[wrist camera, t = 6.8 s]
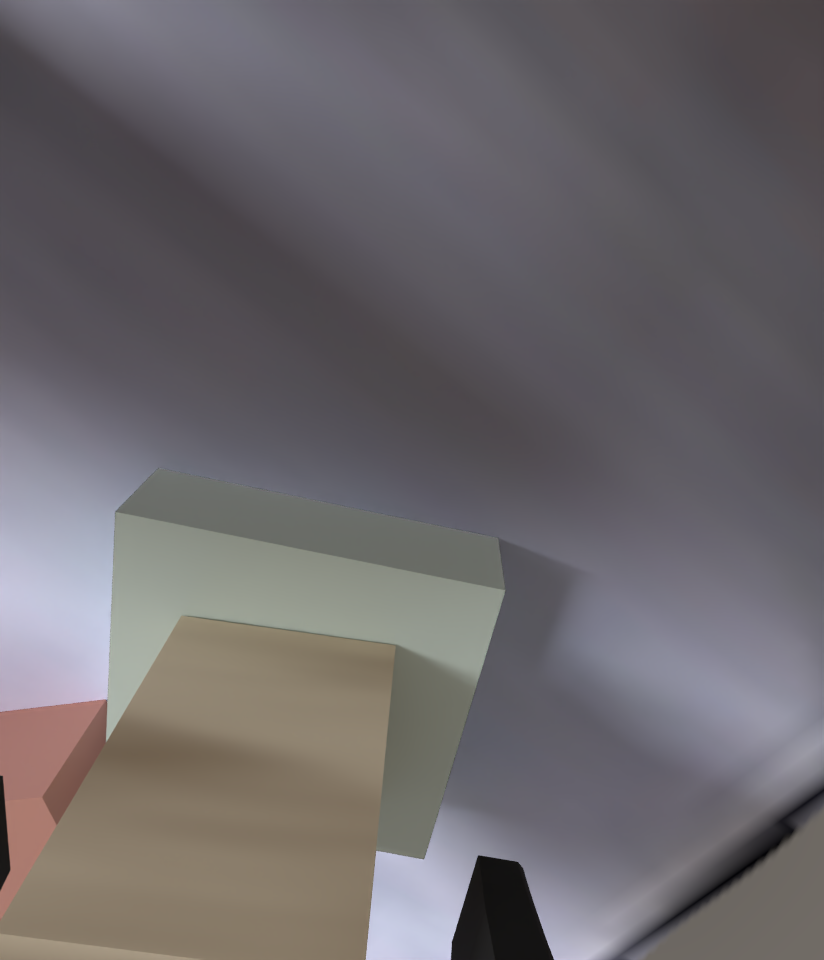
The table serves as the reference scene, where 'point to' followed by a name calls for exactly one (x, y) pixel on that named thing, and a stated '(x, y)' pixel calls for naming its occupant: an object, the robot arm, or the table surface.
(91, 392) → the table surface
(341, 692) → the beech block
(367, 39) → the table surface
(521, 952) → the robot arm
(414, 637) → the base block
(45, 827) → the block
